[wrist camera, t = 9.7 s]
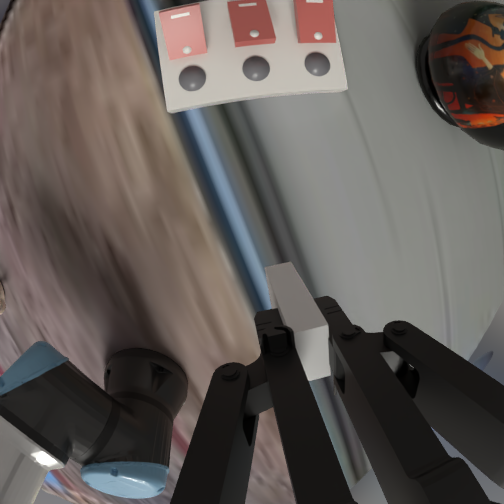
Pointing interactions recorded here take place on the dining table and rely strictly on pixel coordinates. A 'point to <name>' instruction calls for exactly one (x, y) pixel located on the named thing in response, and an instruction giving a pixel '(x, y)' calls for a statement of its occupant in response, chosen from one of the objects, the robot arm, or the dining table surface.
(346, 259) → the dining table surface
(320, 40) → the rocker
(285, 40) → the power strip
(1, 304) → the teacup with lid
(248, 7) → the rocker
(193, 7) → the rocker
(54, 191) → the dining table surface
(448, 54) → the amphora vase
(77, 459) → the robot arm
